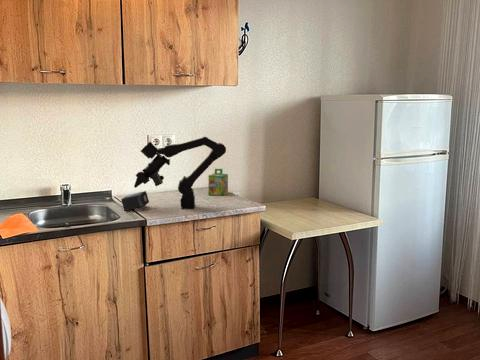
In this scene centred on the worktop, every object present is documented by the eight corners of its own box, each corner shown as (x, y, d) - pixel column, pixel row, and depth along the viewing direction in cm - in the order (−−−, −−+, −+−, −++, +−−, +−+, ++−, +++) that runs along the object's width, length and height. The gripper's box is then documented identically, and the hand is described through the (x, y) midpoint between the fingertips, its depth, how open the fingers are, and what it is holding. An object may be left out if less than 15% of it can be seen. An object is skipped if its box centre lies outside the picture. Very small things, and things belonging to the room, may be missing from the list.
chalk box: (208, 195, 267) (207, 169, 264) (213, 192, 276) (213, 167, 273) (223, 196, 264) (223, 170, 262) (228, 193, 273) (228, 168, 270)
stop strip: (145, 206, 241) (145, 203, 241) (139, 211, 230) (139, 209, 229) (140, 206, 241) (140, 203, 241) (134, 211, 230) (134, 209, 229)
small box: (140, 194, 229) (120, 198, 230) (144, 206, 230) (124, 211, 231) (145, 190, 239) (126, 194, 240) (149, 202, 240) (129, 206, 241)
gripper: (163, 179, 223) (142, 202, 225) (171, 173, 241) (150, 194, 244) (146, 163, 222) (125, 186, 224) (155, 158, 240) (135, 179, 243)
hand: (134, 187), depth 234 cm, fingers closed
